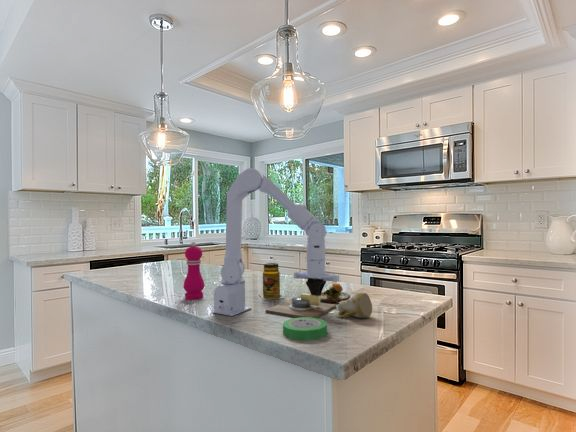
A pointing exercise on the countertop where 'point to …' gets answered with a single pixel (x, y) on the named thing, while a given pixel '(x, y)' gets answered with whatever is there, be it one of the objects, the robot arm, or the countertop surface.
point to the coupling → (306, 300)
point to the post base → (300, 310)
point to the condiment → (271, 282)
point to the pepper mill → (193, 273)
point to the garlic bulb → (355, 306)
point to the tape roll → (305, 328)
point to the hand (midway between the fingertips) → (316, 303)
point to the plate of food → (334, 294)
